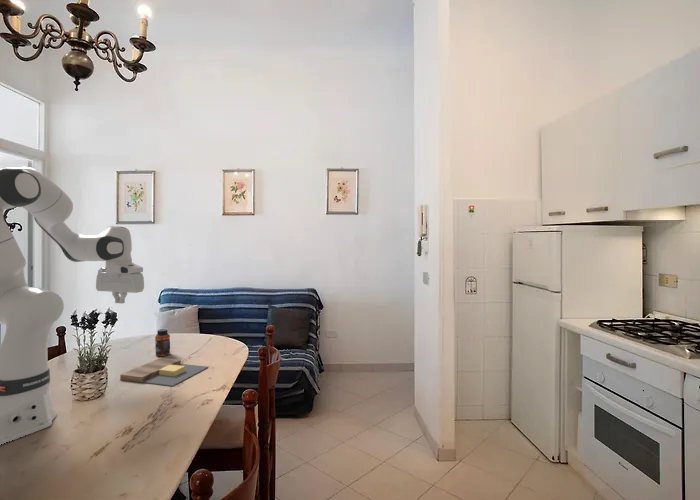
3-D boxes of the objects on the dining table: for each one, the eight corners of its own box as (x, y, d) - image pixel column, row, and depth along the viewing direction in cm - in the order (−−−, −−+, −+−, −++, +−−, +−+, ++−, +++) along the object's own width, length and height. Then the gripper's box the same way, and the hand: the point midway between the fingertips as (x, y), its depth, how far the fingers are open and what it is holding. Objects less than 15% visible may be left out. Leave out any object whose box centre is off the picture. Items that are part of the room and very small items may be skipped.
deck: (142, 382, 137) (142, 377, 137) (120, 379, 140) (120, 374, 140) (180, 364, 156) (180, 359, 156) (160, 362, 159) (160, 357, 159)
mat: (172, 386, 134) (172, 385, 134) (142, 382, 137) (142, 381, 137) (208, 367, 153) (208, 366, 153) (181, 364, 156) (181, 363, 156)
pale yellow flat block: (174, 376, 142) (174, 371, 142) (158, 374, 144) (158, 369, 144) (185, 371, 148) (185, 366, 148) (170, 369, 150) (170, 364, 150)
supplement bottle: (173, 353, 172) (172, 328, 172) (165, 357, 166) (164, 331, 166) (160, 352, 173) (160, 328, 172) (152, 356, 167) (152, 331, 166)
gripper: (90, 268, 147) (91, 303, 147) (133, 269, 141) (134, 305, 142) (105, 266, 153) (106, 300, 153) (146, 267, 147) (147, 303, 148)
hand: (119, 303), depth 147 cm, fingers closed
